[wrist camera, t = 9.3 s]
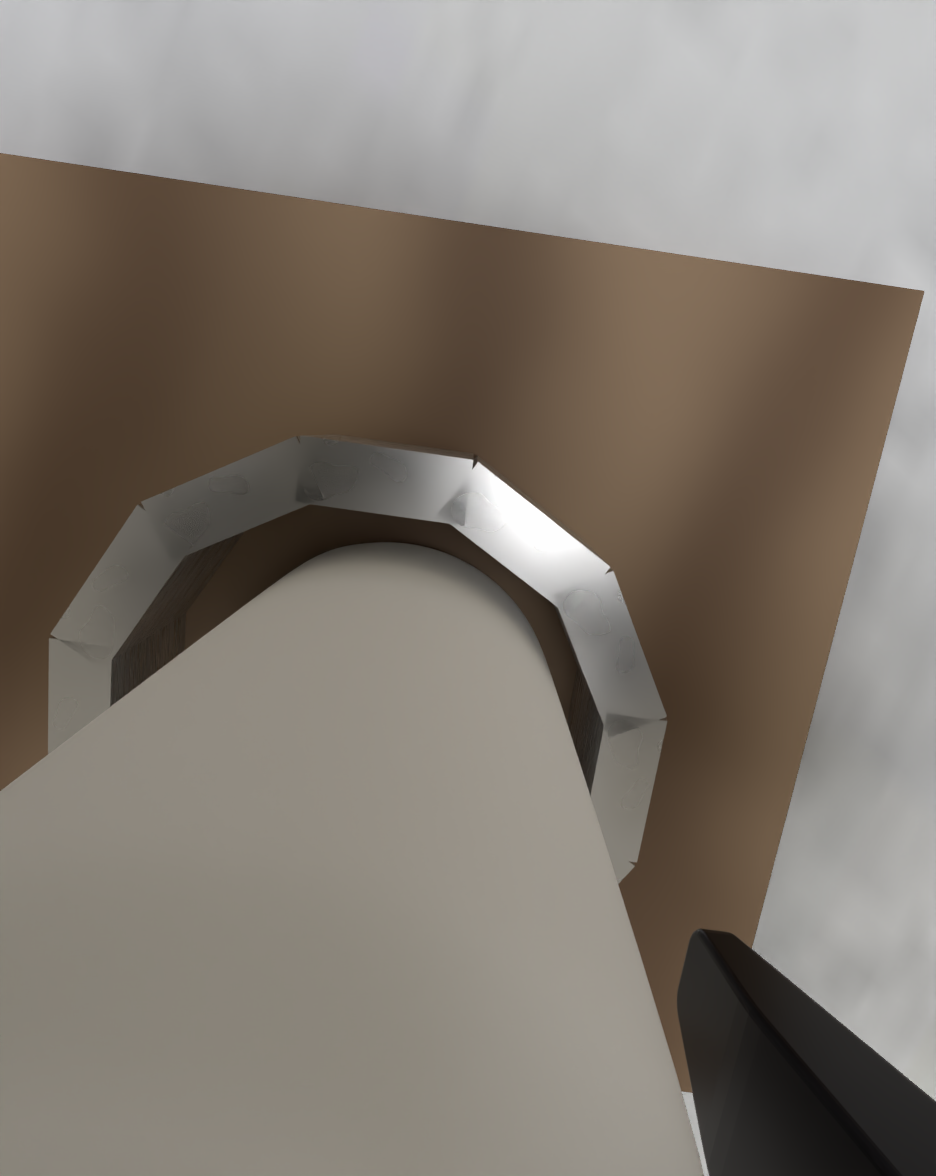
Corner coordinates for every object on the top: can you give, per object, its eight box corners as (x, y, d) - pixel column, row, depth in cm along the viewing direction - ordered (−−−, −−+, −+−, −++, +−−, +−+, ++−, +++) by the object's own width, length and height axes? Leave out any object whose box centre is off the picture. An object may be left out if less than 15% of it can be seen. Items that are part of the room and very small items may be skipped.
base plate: (892, 300, 14) (924, 290, 13) (699, 1058, 18) (712, 1095, 17) (-35, 162, 13) (-76, 142, 12) (-23, 969, 17) (-53, 1001, 16)
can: (438, 473, 14) (212, 740, 2) (606, 737, 15) (1123, 1927, 3) (172, 645, 14) (-1157, 1592, 3) (351, 883, 16) (-21, 2272, 4)
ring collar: (663, 481, 14) (716, 494, 11) (575, 928, 16) (598, 1041, 13) (144, 406, 13) (50, 400, 10) (126, 871, 16) (45, 974, 13)
